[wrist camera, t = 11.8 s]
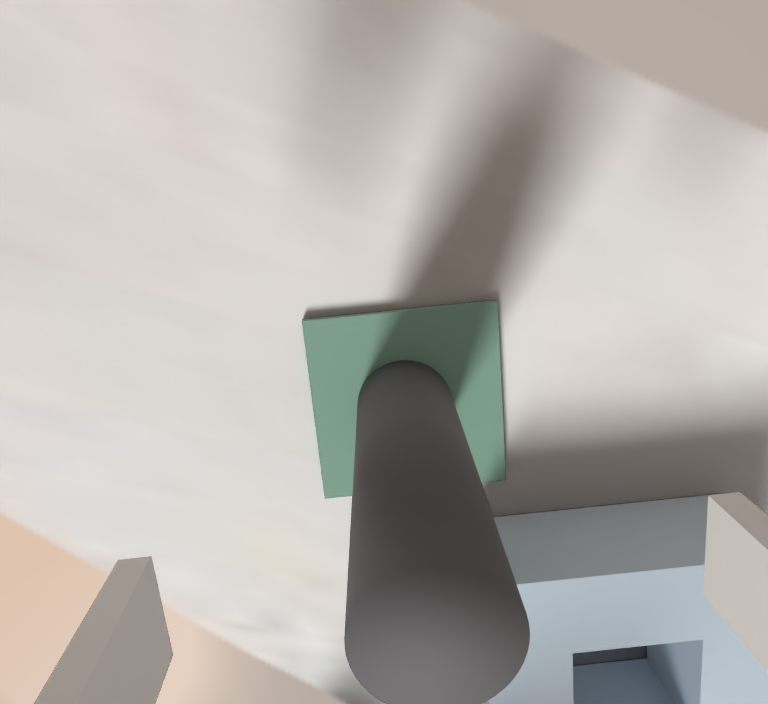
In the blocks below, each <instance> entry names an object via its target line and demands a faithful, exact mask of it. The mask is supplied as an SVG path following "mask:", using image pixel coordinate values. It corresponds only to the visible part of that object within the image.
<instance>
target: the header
mask: <svg viewBox="0 0 768 704" xmlns="http://www.w3.org/2000/svg"><path fill="white" fill-rule="evenodd" d="M722 494H724V493H722ZM712 495H717V494H712ZM707 511H708V495H703V496H693V497H683V498H674V499H664V500H654V501H645V502H635V503H625V504H616V505H606V506H596V507H587V508H577V509H567V510H558V511H548V512H538V513H529V514H519V515H509V516H500V517H494V520H495V523H496V526H497V529H498V532H499V535H500V538H501V541H502V544H503V546H504V549H505V552H506V555H507V558H508V561H509V564H510V567H511V570H512V573H513V576H514V578H515V581H516V584H517V587H518V590H519V593H520V596H521V599H522V602H523V605H524V608H525V610H526V613H527V617H528V621H529V628H530V643H529V648H528V652H527V655H526V658H525V661H524V663H523V665H522V667H521V669H520V671H519V672H518V674H517V675H516V676H515V678H514V679H513V680H512V681H511V682H510V684H509V685H508V686H507V687H506V688H505V689H503V690H502V691H501V692H500V693H499V694H497V695H496V696H494V697H493V698H491V699H490V700H488V701H487V702H485V703H482V704H768V673H767V672H766V671H765V669H764V668H763V667H762V666H761V664H760V663H759V662H758V661H757V660H756V658H755V657H754V656H753V655H752V654H751V652H750V651H749V650H748V649H747V647H746V646H745V645H744V644H743V643H742V641H741V640H740V639H739V638H738V637H737V635H736V634H735V633H734V632H733V630H732V629H731V628H730V627H729V626H728V624H727V623H726V622H725V621H724V620H723V618H722V617H721V616H720V615H719V614H718V612H717V611H716V610H715V609H714V607H713V606H712V605H711V604H710V603H709V601H708V600H707V599H706V598H705V597H704V595H703V586H704V568H705V549H706V530H707ZM638 646H647V658H645V659H636V660H626V661H617V662H608V663H598V664H589V665H579V666H573V653H582V652H591V651H601V650H610V649H619V648H629V647H638Z"/></svg>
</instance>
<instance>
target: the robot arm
mask: <svg viewBox="0 0 768 704" xmlns="http://www.w3.org/2000/svg"><path fill="white" fill-rule="evenodd" d="M703 595H704V597H705V598H706V599H707V600H708V601H709V603H710V604H711V605H712V606H713V607H714V609H715V610H716V611H717V612H718V614H719V615H720V616H721V617H722V618H723V620H724V621H725V622H726V623H727V624H728V626H729V627H730V628H731V629H732V630H733V632H734V633H735V634H736V635H737V637H738V638H739V639H740V640H741V641H742V643H743V644H744V645H745V646H746V647H747V649H748V650H749V651H750V652H751V654H752V655H753V656H754V657H755V658H756V660H757V661H758V662H759V663H760V664H761V666H762V667H763V668H764V669H765V671H766V672H767V673H768V515H767V514H766V513H765V512H764V511H762V510H761V509H760V508H759V507H758V506H756V505H755V504H754V503H753V502H752V501H750V500H749V499H748V498H747V497H746V496H744V495H743V494H742V493H741V492H735V493H726V494H717V495H708V511H707V530H706V549H705V568H704V586H703ZM172 656H173V652H172V648H171V643H170V638H169V634H168V630H167V625H166V621H165V616H164V611H163V607H162V602H161V598H160V593H159V589H158V584H157V580H156V575H155V571H154V566H153V562H152V557H151V556H150V557H141V558H132V559H123V560H118V561H117V563H116V565H115V566H114V568H113V570H112V571H111V573H110V575H109V576H108V578H107V580H106V582H105V583H104V585H103V587H102V589H101V590H100V592H99V594H98V595H97V597H96V599H95V600H94V602H93V604H92V605H91V607H90V609H89V611H88V612H87V614H86V616H85V617H84V619H83V621H82V623H81V624H80V626H79V628H78V629H77V631H76V633H75V634H74V636H73V638H72V639H71V641H70V643H69V645H68V646H67V648H66V650H65V651H64V653H63V655H62V657H61V658H60V660H59V662H58V663H57V665H56V667H55V669H54V670H53V672H52V674H51V675H50V677H49V679H48V680H47V682H46V684H45V685H44V687H43V689H42V691H41V692H40V694H39V696H38V697H37V699H36V701H35V703H34V704H155V703H156V701H157V698H158V695H159V692H160V690H161V687H162V684H163V681H164V679H165V676H166V673H167V670H168V667H169V665H170V662H171V659H172Z"/></svg>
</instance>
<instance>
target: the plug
mask: <svg viewBox="0 0 768 704" xmlns="http://www.w3.org/2000/svg"><path fill="white" fill-rule="evenodd" d="M344 639H345V651H346V656H347V660H348V663H349V665H350V668H351V670H352V672H353V673H354V675H355V677H356V678H357V680H358V681H359V682H360V683H361V685H362V686H363V687H364V688H365V689H366V690H367V691H368V692H369V693H371V694H372V695H373V696H375V697H376V698H377V699H379V700H380V701H382V702H384V703H386V704H482V703H485V702H487V701H488V700H490V699H491V698H493V697H494V696H496V695H497V694H499V693H500V692H501V691H502V690H503V689H505V688H506V687H507V686H508V685H509V684H510V682H511V681H512V680H513V679H514V678H515V676H516V675H517V674H518V672H519V671H520V669H521V667H522V665H523V663H524V661H525V658H526V655H527V652H528V648H529V643H530V628H529V621H528V617H527V613H526V610H525V608H524V605H523V602H522V599H521V596H520V593H519V590H518V587H517V584H516V581H515V578H514V576H513V573H512V570H511V567H510V564H509V561H508V558H507V555H506V552H505V549H504V546H503V544H502V541H501V538H500V535H499V532H498V529H497V526H496V523H495V520H494V517H493V514H492V512H491V509H490V506H489V503H488V500H487V497H486V494H485V491H484V488H483V485H482V482H481V480H480V477H479V474H478V471H477V468H476V465H475V462H474V459H473V456H472V453H471V451H470V448H469V445H468V442H467V439H466V436H465V433H464V430H463V427H462V424H461V421H460V419H459V416H458V413H457V410H456V407H455V404H454V401H453V398H452V395H451V392H450V390H449V387H448V385H447V383H446V382H445V380H444V379H443V377H442V376H441V375H440V374H439V373H438V372H437V371H436V370H434V369H433V368H431V367H429V366H428V365H426V364H423V363H420V362H416V361H409V360H401V361H395V362H391V363H388V364H386V365H383V366H381V367H380V368H378V369H377V370H375V371H374V372H373V373H372V374H371V375H370V376H369V377H368V378H367V379H366V381H365V382H364V384H363V385H362V387H361V390H360V392H359V396H358V403H357V421H356V439H355V457H354V475H353V493H352V512H351V530H350V548H349V566H348V584H347V602H346V620H345V638H344Z"/></svg>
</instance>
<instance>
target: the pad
mask: <svg viewBox="0 0 768 704" xmlns="http://www.w3.org/2000/svg"><path fill="white" fill-rule="evenodd" d="M302 326H303V334H304V341H305V349H306V357H307V364H308V372H309V380H310V387H311V395H312V403H313V411H314V418H315V426H316V434H317V441H318V449H319V457H320V464H321V472H322V480H323V488H324V495H325V498H335V497H345V496H352V493H353V475H354V457H355V439H356V421H357V403H358V396H359V392H360V390H361V387H362V385H363V384H364V382H365V381H366V379H367V378H368V377H369V376H370V375H371V374H372V373H373V372H374V371H375V370H377V369H378V368H380V367H381V366H383V365H386V364H388V363H391V362H395V361H401V360H409V361H416V362H420V363H423V364H426V365H428V366H429V367H431V368H433V369H434V370H436V371H437V372H438V373H439V374H440V375H441V376H442V377H443V379H444V380H445V382H446V383H447V385H448V387H449V390H450V392H451V395H452V398H453V401H454V404H455V407H456V410H457V413H458V416H459V419H460V421H461V424H462V427H463V430H464V433H465V436H466V439H467V442H468V445H469V448H470V451H471V453H472V456H473V459H474V462H475V465H476V468H477V471H478V474H479V477H480V480H481V482H491V481H501V480H506V470H505V449H504V427H503V406H502V385H501V363H500V342H499V320H498V302H497V301H496V300H491V301H481V302H471V303H461V304H450V305H440V306H430V307H420V308H410V309H400V310H390V311H380V312H370V313H360V314H350V315H340V316H329V317H319V318H309V319H303V320H302Z"/></svg>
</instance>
